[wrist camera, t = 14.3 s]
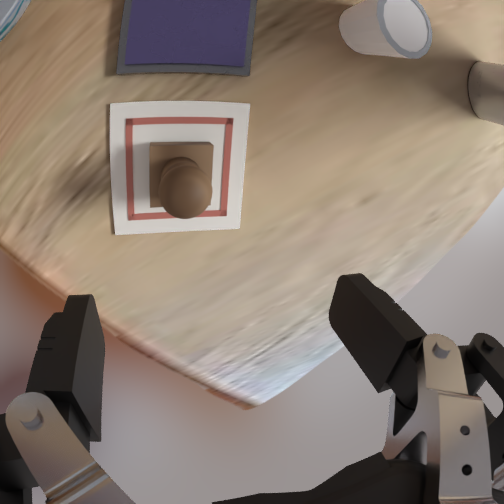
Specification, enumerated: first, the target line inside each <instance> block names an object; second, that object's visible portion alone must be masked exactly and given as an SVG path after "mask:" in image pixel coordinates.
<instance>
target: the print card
mask: <svg viewBox="0 0 504 504" xmlns="http://www.w3.org/2000/svg"><path fill="white" fill-rule="evenodd" d="M249 112H250V104H247V103H233V102H213V101H144V102H125V103H111V104H110V169H111V189H112V204H113V216H114V227H115V235H125V234H142V233H160V232H179V231H200V230H222V229H240V219H241V206H242V193H243V181H244V169H245V157H246V146H247V134H248V123H249ZM150 142H210V143H211V144H213V145H214V150H213V167H212V191H213V192H212V199H211V205H209V206H208V207H207V208H206V210H205V211H204V212H203V213H201V214H200V215H198V216H196V217H194V218H190V219H179V218H176V217H174V216H172V215H170V214H169V213H167V212H166V211H165V209H164V208H163V207H155V208H150V186H149V146H150Z"/></svg>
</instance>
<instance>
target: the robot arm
mask: <svg viewBox="0 0 504 504" xmlns="http://www.w3.org/2000/svg"><path fill="white" fill-rule="evenodd" d="M468 89H469V97H470V102H471V105H472V108H473V110H474V112H475V113H476V115H477V116H478V117H479V118H481V119H484V120H487V121H491V122H494V123H497V124H501V125H504V65H501V64H495V63H488V62H477V63H475V64H474V65H473V67H472V69H471V71H470V74H469V81H468ZM329 321H330V324H331V327H332V328H333V330H334V331H335V332H336V334H337V335H338V337H339V338H340V339H341V341H342V342H343V344H344V345H345V347H346V348H347V349H348V351H349V352H350V354H351V355H352V356H353V358H354V359H355V361H356V362H357V363H358V365H359V366H360V368H361V369H362V371H363V372H364V373H365V375H366V376H367V378H368V379H369V380H370V382H371V383H372V385H373V386H374V388H375V389H376V391H377V392H378V393H380V392H383V391H385V390H388V389H392V390H393V393H392V395H391V397H390V405H389V417H388V428H387V436H386V442H385V446H384V448H383V450H382V452H379V453H377V454H375V455H372V456H371V457H368V458H366V459H363V460H361V461H359V462H356V463H354V464H351V465H349V466H346V467H345V468H344V469H342V470H341V471H339V472H338V473H336V474H335V475H334V476H332V477H331V478H329V479H328V480H326V481H325V482H323V483H322V484H320V485H318V486H317V487H315V488H314V489H312V490H309V491H302V492H288V493H259V494H255V495H250V496H245V497H241V498H235V499H230V500H224V501H217V502H212V504H504V347H503V346H502V345H501V344H500V343H499V342H498V341H497V340H496V339H495V338H494V337H492V336H490V335H488V334H485V333H477V334H476V335H475V336H474V337H473V339H472V341H471V342H470V344H469V345H467V346H457V345H456V344H455V343H454V342H453V341H452V340H451V339H449V338H448V337H446V336H443V335H440V334H429V335H427V334H426V333H425V332H424V331H423V330H422V329H421V327H419V325H418V324H417V323H415V321H414V320H413V319H412V318H411V317H410V316H409V315H408V314H407V313H406V312H405V311H404V310H403V311H402V308H401V307H400V306H399V305H398V304H397V303H395V301H394V300H393V299H392V298H391V297H390V296H389V295H388V294H387V293H386V292H384V291H383V290H381V289H379V288H378V287H376V286H374V285H373V284H372V283H371V282H370V281H369V280H368V279H367V278H366V277H365V276H364V275H363V274H361V273H357V274H349V275H342V276H340V277H339V279H338V281H337V284H336V288H335V292H334V295H333V299H332V303H331V306H330V310H329ZM104 357H105V342H104V335H103V331H102V327H101V323H100V320H99V316H98V312H97V308H96V304H95V300H94V297H93V295H92V294H88V295H69V296H68V298H67V301H66V304H65V307H64V310H63V312H58V313H54V314H53V315H52V316H51V318H50V319H49V320H48V321H47V322H46V323H45V325H44V328H43V331H42V334H41V340H40V341H39V344H38V351H36V354H35V357H34V361H33V365H32V368H31V372H30V376H29V380H28V384H27V388H26V392H25V393H24V394H22V395H19V396H18V397H16V398H15V399H14V400H13V401H12V402H11V403H10V405H9V407H8V409H7V411H6V413H4V414H1V415H0V504H32V488H33V487H38V486H40V487H41V489H42V490H43V492H44V493H45V495H46V497H47V500H46V504H135V503H134V501H133V500H131V499H130V498H129V497H128V496H127V495H126V494H125V493H124V491H123V490H122V489H121V488H120V487H119V486H118V485H117V484H116V483H115V482H114V481H113V480H112V479H111V478H110V477H109V475H108V474H107V473H106V472H105V471H104V470H103V469H102V468H101V467H100V466H99V464H98V463H97V462H96V461H95V460H94V458H93V457H92V456H91V455H90V451H89V450H90V441H95V442H96V441H97V442H100V441H101V409H102V385H103V369H104ZM486 380H487V382H488V383H489V384H490V385H491V387H492V388H493V389H494V390H495V392H496V393H497V394H498V395H499V397H500V398H501V399H502V401H503V411H502V412H501V414H500V415H499V416H498V417H497V418H495V417H494V416H493V415H492V414H491V412H490V411H489V409H488V408H487V407H486V405H485V404H484V403H483V401H482V399H481V397H479V396H478V395H477V394H476V393H477V391H478V390H479V389H480V387H481V386H482V385H483V383H484V382H485V381H486ZM491 479H492V481H491Z"/></svg>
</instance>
